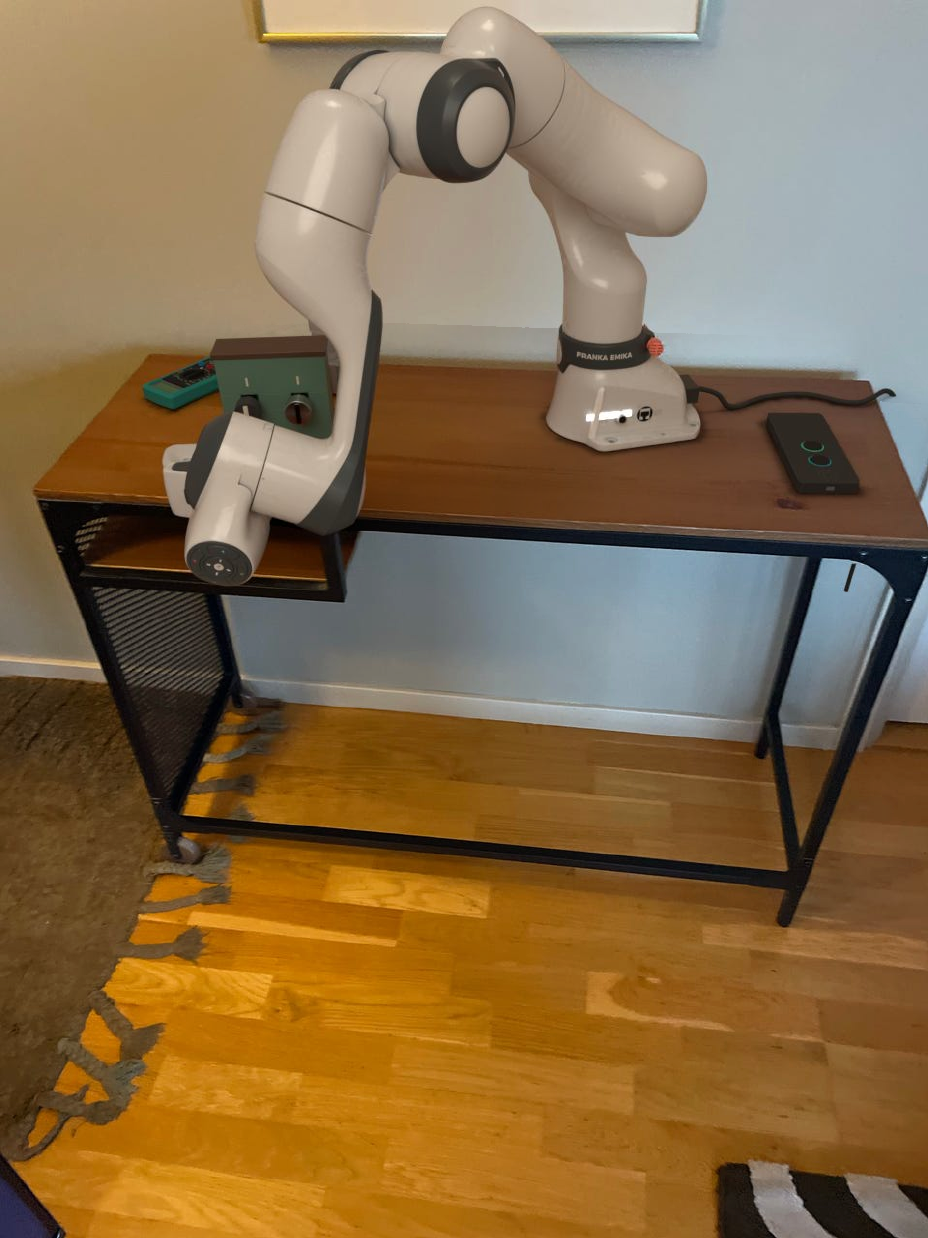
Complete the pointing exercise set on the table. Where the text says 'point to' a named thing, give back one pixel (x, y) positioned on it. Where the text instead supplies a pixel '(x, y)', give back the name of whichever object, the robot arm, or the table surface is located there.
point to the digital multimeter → (183, 385)
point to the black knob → (249, 406)
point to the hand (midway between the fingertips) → (254, 435)
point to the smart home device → (811, 454)
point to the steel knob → (298, 409)
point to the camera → (329, 359)
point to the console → (277, 377)
